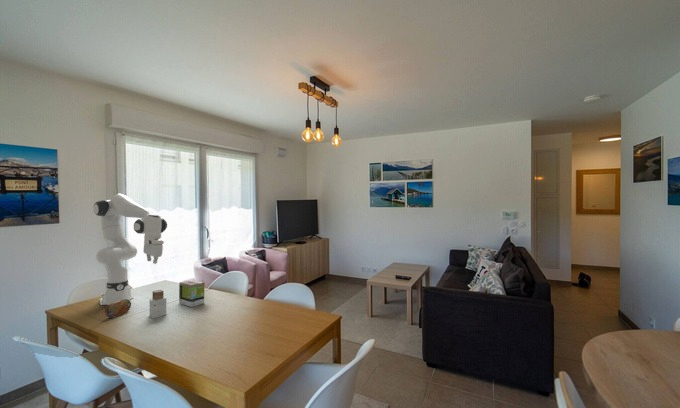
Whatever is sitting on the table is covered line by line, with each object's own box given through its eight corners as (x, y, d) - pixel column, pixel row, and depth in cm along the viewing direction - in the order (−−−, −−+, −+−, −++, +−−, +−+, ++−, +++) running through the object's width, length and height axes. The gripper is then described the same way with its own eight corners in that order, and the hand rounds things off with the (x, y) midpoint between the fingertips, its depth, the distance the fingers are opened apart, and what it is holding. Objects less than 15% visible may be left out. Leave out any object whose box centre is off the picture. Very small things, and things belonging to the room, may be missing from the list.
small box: (164, 312, 181) (164, 295, 181) (166, 314, 177) (166, 297, 177) (149, 315, 175) (149, 298, 175) (151, 318, 171) (151, 300, 171)
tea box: (204, 303, 198) (205, 281, 198) (190, 307, 190) (190, 285, 190) (192, 299, 206) (192, 278, 206) (178, 303, 198) (178, 282, 198)
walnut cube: (152, 298, 176) (152, 291, 176) (160, 296, 179) (160, 289, 179) (155, 300, 173) (155, 292, 173) (163, 298, 177) (163, 290, 177)
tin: (108, 319, 169) (108, 305, 169) (103, 319, 170) (103, 305, 170) (131, 310, 184) (131, 297, 184) (127, 310, 185) (127, 297, 185)
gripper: (140, 238, 182) (140, 260, 182) (153, 242, 169) (152, 265, 169) (152, 237, 187) (151, 259, 187) (164, 241, 174) (164, 264, 174)
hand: (152, 262), depth 178 cm, fingers open, 8 cm apart
